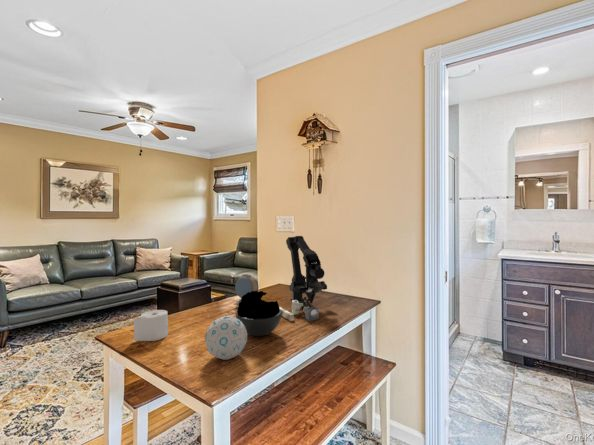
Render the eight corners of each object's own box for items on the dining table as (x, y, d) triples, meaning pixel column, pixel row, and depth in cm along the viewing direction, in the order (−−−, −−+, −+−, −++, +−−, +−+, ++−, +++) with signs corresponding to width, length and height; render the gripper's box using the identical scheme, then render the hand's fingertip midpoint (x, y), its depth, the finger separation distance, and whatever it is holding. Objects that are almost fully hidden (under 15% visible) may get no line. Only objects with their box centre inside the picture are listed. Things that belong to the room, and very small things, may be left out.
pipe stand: (301, 317, 155) (301, 306, 155) (310, 315, 158) (310, 304, 158) (309, 321, 149) (309, 310, 148) (319, 319, 152) (319, 308, 152)
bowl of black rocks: (257, 323, 147) (257, 284, 147) (291, 332, 136) (290, 290, 135) (226, 336, 131) (225, 293, 130) (260, 348, 119) (260, 301, 119)
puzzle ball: (196, 360, 110) (196, 319, 109) (226, 345, 123) (226, 308, 122) (227, 371, 102) (226, 327, 101) (255, 354, 115) (255, 314, 114)
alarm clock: (261, 303, 180) (261, 273, 179) (250, 307, 171) (250, 276, 171) (243, 300, 187) (243, 271, 187) (232, 304, 179) (231, 274, 178)
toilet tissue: (173, 332, 136) (172, 310, 136) (155, 343, 124) (155, 319, 124) (152, 330, 138) (151, 309, 138) (132, 341, 126) (132, 317, 126)
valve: (298, 315, 158) (310, 309, 168) (298, 303, 158) (310, 297, 167) (288, 313, 162) (300, 307, 171) (288, 301, 161) (300, 296, 171)
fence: (273, 311, 165) (273, 305, 165) (276, 310, 166) (276, 305, 166) (290, 321, 150) (290, 315, 150) (293, 320, 151) (293, 314, 151)
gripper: (305, 280, 157) (305, 310, 158) (333, 275, 167) (333, 304, 168) (293, 276, 167) (294, 304, 167) (321, 272, 177) (321, 299, 177)
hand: (311, 303), depth 169 cm, fingers closed
